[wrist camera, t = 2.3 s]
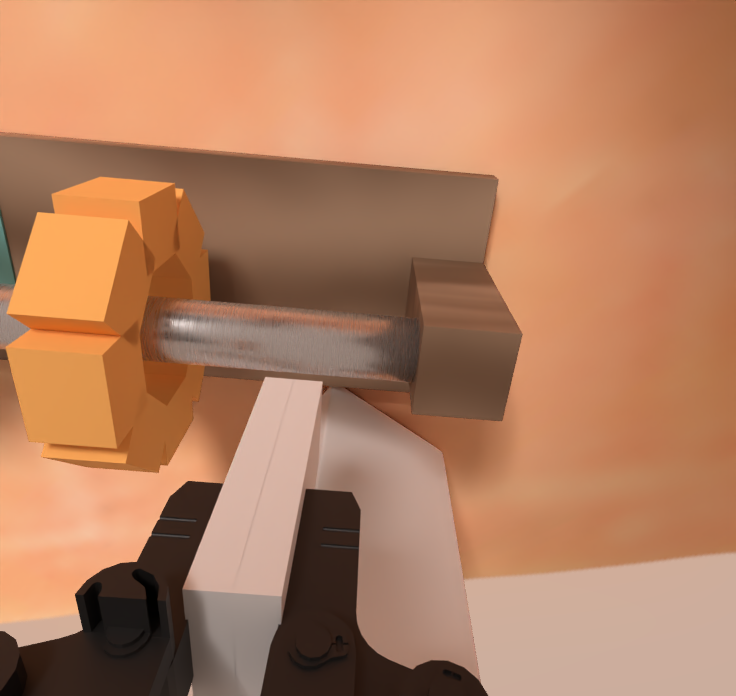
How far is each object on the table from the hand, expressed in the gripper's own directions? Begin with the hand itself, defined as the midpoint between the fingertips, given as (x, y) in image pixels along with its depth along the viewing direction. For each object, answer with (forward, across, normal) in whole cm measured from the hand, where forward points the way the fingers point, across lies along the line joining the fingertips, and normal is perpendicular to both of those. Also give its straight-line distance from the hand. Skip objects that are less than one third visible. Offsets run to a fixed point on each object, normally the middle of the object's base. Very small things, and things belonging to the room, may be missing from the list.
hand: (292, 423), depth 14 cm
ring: (+9, -6, 0) cm, 11 cm away
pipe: (+6, -7, 0) cm, 9 cm away
